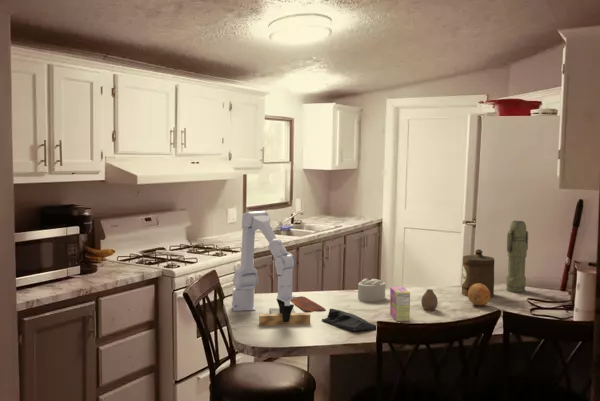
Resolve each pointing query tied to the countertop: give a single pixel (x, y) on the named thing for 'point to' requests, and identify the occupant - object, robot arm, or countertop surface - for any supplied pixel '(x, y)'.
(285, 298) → the robot arm
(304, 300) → the wooden tablet
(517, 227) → the green totem statue
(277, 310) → the stand
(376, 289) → the lumpy-topped squat cylinder
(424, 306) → the vase
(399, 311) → the box
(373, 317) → the countertop surface
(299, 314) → the oak bar
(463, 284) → the wooden container
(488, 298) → the orange fruit
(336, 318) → the dark slate chunk
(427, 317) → the countertop surface
